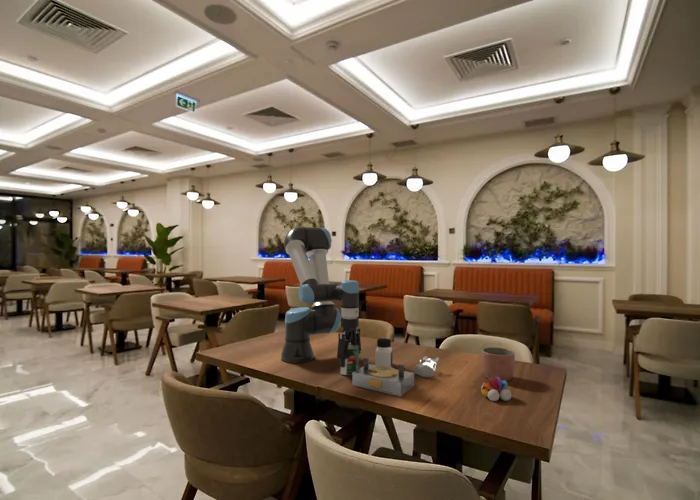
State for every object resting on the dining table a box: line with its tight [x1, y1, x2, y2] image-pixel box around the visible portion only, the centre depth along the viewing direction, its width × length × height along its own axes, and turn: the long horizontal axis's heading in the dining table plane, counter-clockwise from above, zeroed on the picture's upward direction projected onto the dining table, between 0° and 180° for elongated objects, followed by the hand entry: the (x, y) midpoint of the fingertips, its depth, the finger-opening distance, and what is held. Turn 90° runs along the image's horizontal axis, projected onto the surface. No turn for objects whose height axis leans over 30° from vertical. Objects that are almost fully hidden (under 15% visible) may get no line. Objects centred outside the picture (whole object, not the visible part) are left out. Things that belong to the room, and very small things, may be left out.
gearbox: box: [351, 357, 415, 397], centre depth 141 cm, size 20×13×9 cm, turn 58°
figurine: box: [413, 355, 440, 378], centre depth 155 cm, size 9×6×12 cm
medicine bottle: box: [374, 337, 394, 368], centre depth 165 cm, size 7×7×12 cm
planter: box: [481, 346, 516, 382], centre depth 150 cm, size 12×12×11 cm
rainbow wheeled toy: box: [480, 377, 512, 402], centre depth 130 cm, size 8×10×7 cm
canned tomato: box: [339, 343, 360, 376], centre depth 156 cm, size 8×8×11 cm
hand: (349, 371), depth 156 cm, fingers closed on canned tomato, 8 cm apart
